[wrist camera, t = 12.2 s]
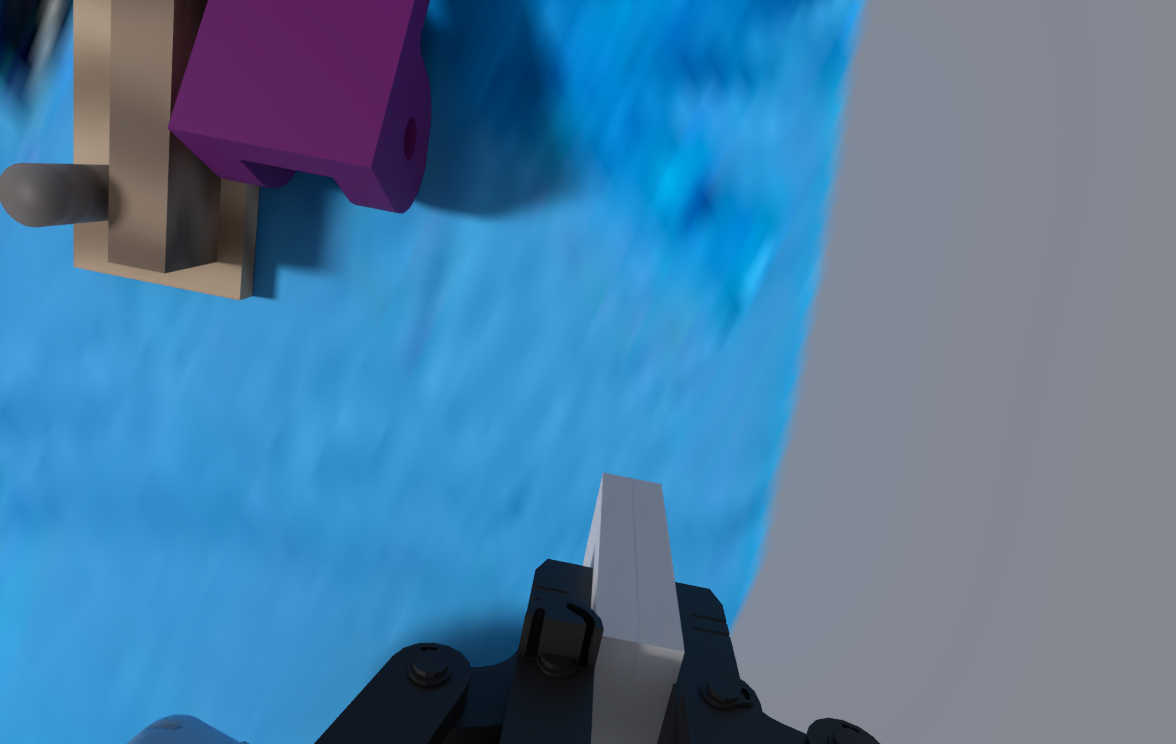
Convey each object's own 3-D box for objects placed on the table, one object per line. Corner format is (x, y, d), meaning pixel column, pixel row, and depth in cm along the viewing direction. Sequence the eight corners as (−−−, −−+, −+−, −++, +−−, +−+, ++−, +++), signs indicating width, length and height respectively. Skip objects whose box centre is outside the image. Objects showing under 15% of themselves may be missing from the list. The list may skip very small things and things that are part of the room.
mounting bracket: (325, -68, 44) (245, 203, 41) (272, -199, 36) (166, 127, 33) (476, -37, 44) (408, 235, 41) (458, -161, 36) (370, 168, 33)
